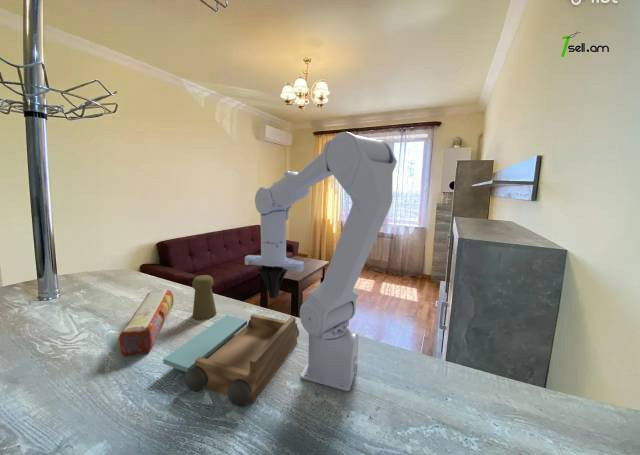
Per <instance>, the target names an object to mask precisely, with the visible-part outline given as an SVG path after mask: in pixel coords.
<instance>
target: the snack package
mask: <svg viewBox="0 0 640 455" xmlns="http://www.w3.org/2000/svg"><path fill="white" fill-rule="evenodd" d="M173 305H174V294H173V293H172V291H171V290H169V289H154V290H152V291H149V292H148V293H147V295H146V296H145V298H144V299H143V300H142V301H141V304H140V305H139V307H138V308H137V309H136V311H135V312H134V313H133V315H132V317H131V318H130V319H129V321H128V323H127V325H126V326H125V327H124V328H123V329H122V330H121V332H120V334H119V336H118V348H119V352H120V354H121V355H122V356H124V357H127V358H128V357H133V356H135V357H136V356H139V355H140V356H141V355H143V354H144V355H145V354H147V353H149V352H151V351H152V349H153V347H154V346H155V343H156V339H157V337H158V335H159V333H160V331H161V330H162V328H163V325H165V324H164V323H165V321H166V320H167V317H168V315H169V313H170V311H171V310H172V308H173Z"/></svg>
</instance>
